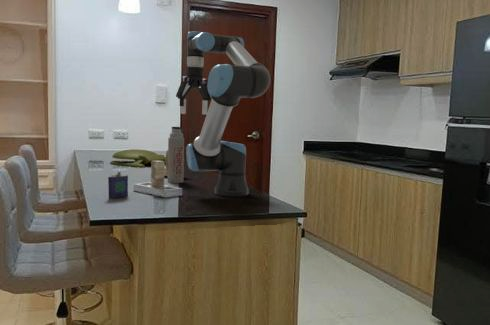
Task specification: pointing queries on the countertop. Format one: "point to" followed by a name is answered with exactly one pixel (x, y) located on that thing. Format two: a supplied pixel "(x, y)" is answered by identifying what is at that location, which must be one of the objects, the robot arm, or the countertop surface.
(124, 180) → the flask
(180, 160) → the thermos bottle
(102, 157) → the countertop surface
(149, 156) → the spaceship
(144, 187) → the white compartment tray
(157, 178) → the birch peg
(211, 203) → the countertop surface
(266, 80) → the robot arm
